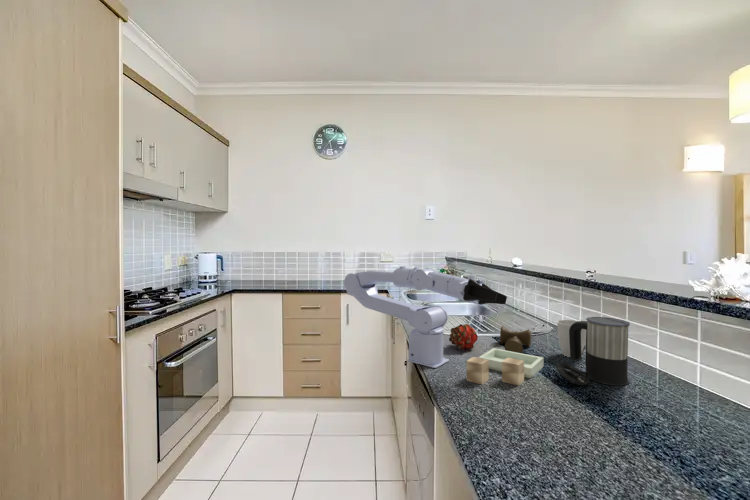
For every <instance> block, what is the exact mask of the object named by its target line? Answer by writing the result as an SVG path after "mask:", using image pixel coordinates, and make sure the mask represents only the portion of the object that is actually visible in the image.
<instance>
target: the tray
mask: <svg viewBox="0 0 750 500" xmlns="http://www.w3.org/2000/svg"><path fill="white" fill-rule="evenodd" d="M477 358H481V359H486V360H489V370H493V371H498V372H501V373H502V361H504V360H505V359H506V358H513V359H518V360H523V361H524V378H528V379H533V377H534V376H535V375H536V374H537V373H539V372H540V371H541V370H542V369H543V368H544V364H545V362H544V360H545V359H544V357H542V356H537V355H532V354H526V353H523V352H522V353H517V352H512V351H506V350H505V349H501V348H495V347H493V348H492V349H490V350H488V351H485V353H483V354H482V355H480V356H478V357H477Z"/></svg>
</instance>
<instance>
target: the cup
mask: <svg viewBox="0 0 750 500" xmlns="http://www.w3.org/2000/svg"><path fill="white" fill-rule="evenodd" d="M578 321H579V320H575V319H574V320H573V319H561V320H557V322H556V325H557V338H558V342H559V347H560V350H561V354H562V356H563V355H564V357H565V356H567V357H566V358H569V357H570V342H569V329H570V327H571V325H572V324H573V323H575V322H578ZM585 351H586V330H585V329H582V330H581V357H582V358H583V355H584V353H585Z"/></svg>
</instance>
